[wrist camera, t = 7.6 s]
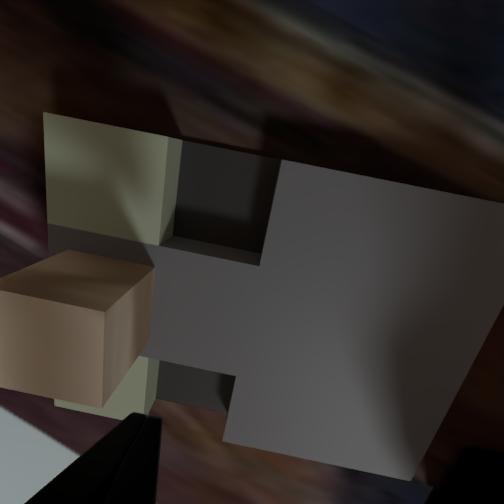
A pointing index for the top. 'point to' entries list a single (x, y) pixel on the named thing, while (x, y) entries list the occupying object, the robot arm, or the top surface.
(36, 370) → the block
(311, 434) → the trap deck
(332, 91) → the top surface
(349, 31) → the top surface
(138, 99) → the top surface
